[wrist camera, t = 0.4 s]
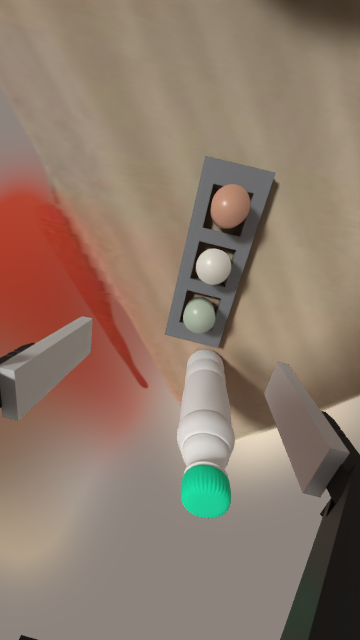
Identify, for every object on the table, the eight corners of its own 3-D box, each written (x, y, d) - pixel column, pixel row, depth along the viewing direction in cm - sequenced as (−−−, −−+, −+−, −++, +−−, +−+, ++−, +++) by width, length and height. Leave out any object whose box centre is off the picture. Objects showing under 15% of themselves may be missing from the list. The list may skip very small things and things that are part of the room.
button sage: (189, 293, 37) (187, 299, 33) (217, 301, 36) (219, 307, 33) (182, 320, 38) (179, 328, 35) (209, 327, 38) (210, 336, 34)
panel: (205, 161, 32) (205, 156, 30) (271, 177, 32) (275, 172, 30) (166, 330, 42) (164, 334, 40) (217, 343, 41) (217, 348, 39)
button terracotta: (215, 187, 31) (217, 179, 27) (249, 196, 31) (255, 189, 27) (206, 224, 33) (206, 222, 29) (238, 232, 33) (242, 230, 29)
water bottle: (228, 355, 42) (259, 495, 18) (214, 383, 44) (226, 539, 21) (194, 342, 42) (182, 467, 18) (182, 371, 44) (157, 515, 21)
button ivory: (201, 245, 34) (200, 244, 30) (232, 252, 34) (235, 253, 30) (193, 276, 36) (192, 280, 32) (223, 283, 35) (225, 288, 32)
